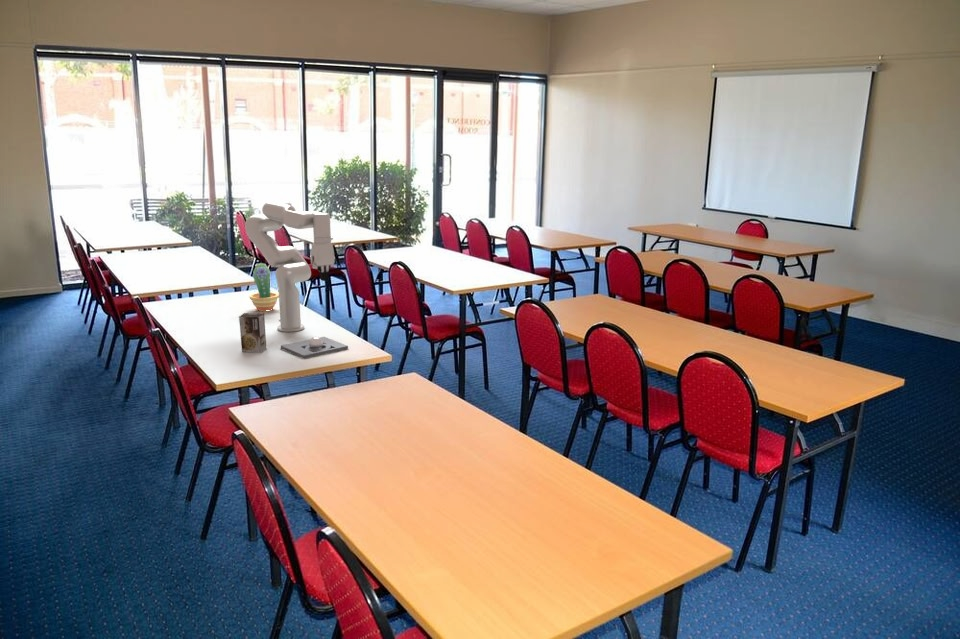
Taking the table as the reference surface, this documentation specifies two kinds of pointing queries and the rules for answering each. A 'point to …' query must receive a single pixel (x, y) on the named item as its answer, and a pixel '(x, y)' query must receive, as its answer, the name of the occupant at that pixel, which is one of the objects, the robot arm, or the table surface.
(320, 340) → the metal ball
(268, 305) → the potted cactus
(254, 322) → the coffee box
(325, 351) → the hole board
